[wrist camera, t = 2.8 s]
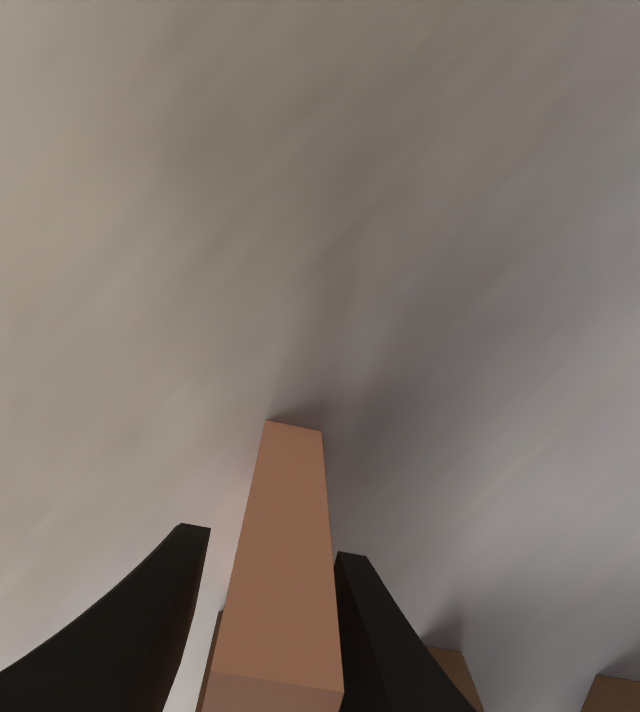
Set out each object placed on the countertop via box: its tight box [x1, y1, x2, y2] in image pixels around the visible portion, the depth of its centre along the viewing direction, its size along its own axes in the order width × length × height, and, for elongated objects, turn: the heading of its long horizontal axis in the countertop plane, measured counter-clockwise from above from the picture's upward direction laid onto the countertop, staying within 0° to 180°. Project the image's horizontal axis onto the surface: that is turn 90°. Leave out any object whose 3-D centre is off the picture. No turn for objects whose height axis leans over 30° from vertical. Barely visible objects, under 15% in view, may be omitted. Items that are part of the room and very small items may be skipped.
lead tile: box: [202, 420, 344, 712], centre depth 9 cm, size 1×5×7 cm, turn 167°
